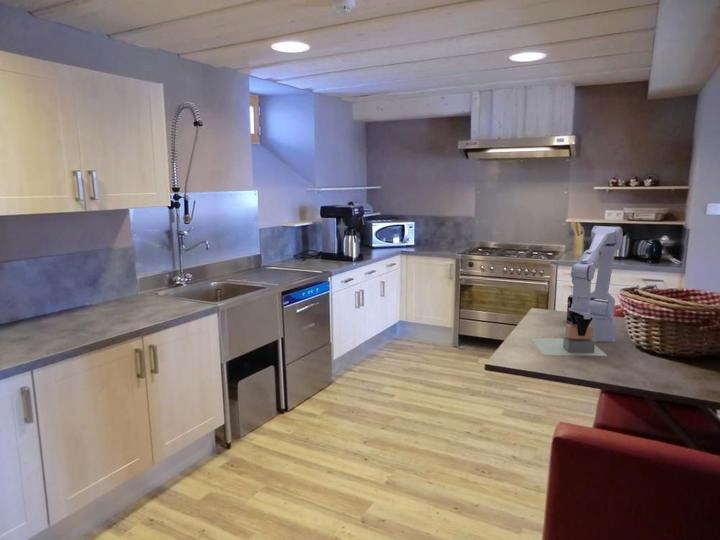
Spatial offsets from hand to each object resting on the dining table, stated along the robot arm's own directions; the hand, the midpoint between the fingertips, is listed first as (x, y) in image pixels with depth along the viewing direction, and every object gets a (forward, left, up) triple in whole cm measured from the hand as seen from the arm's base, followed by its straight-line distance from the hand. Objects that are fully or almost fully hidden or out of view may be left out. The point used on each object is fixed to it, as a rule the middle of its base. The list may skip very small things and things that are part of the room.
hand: (579, 333), depth 183 cm
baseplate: (+3, -4, -7) cm, 8 cm away
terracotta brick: (0, 0, -1) cm, 1 cm away
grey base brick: (0, 0, -6) cm, 6 cm away
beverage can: (-11, -39, -7) cm, 41 cm away
